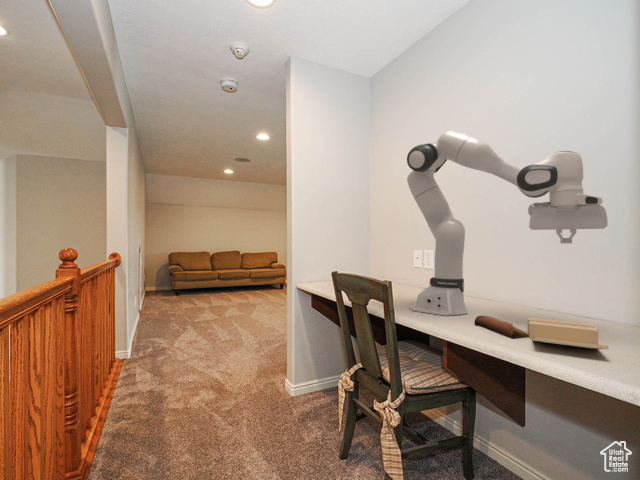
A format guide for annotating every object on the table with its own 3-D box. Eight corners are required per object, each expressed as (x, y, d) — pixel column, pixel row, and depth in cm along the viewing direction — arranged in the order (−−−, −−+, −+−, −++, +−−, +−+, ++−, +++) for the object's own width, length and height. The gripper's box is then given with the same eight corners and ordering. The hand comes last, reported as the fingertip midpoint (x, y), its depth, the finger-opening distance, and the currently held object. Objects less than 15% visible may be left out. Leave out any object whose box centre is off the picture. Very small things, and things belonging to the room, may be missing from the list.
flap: (531, 341, 96) (535, 340, 86) (531, 338, 96) (535, 337, 86) (596, 349, 89) (608, 349, 79) (596, 346, 89) (608, 346, 79)
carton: (529, 340, 97) (529, 323, 97) (527, 332, 105) (527, 316, 105) (598, 348, 89) (598, 330, 89) (590, 340, 97) (590, 323, 97)
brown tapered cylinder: (537, 338, 99) (527, 320, 98) (520, 351, 97) (510, 333, 97) (494, 323, 116) (486, 308, 116) (479, 334, 115) (471, 318, 114)
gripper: (528, 202, 108) (529, 243, 108) (609, 198, 98) (609, 243, 97) (527, 203, 113) (527, 243, 113) (603, 200, 103) (603, 243, 103)
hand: (566, 243), depth 105 cm, fingers closed
